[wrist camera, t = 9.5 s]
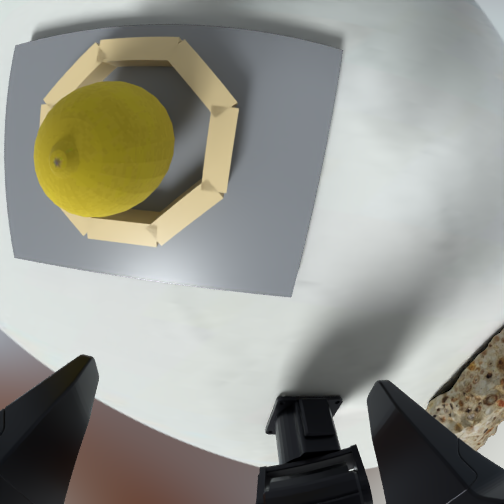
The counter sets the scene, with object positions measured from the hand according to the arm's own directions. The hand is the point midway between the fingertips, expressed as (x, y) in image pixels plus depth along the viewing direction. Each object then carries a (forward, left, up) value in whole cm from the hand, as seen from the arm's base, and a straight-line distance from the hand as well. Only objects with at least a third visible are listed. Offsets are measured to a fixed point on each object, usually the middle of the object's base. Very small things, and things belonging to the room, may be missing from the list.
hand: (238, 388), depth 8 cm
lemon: (+6, +6, -10) cm, 13 cm away
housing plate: (+5, +6, -11) cm, 14 cm away
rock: (-14, -34, -12) cm, 39 cm away
